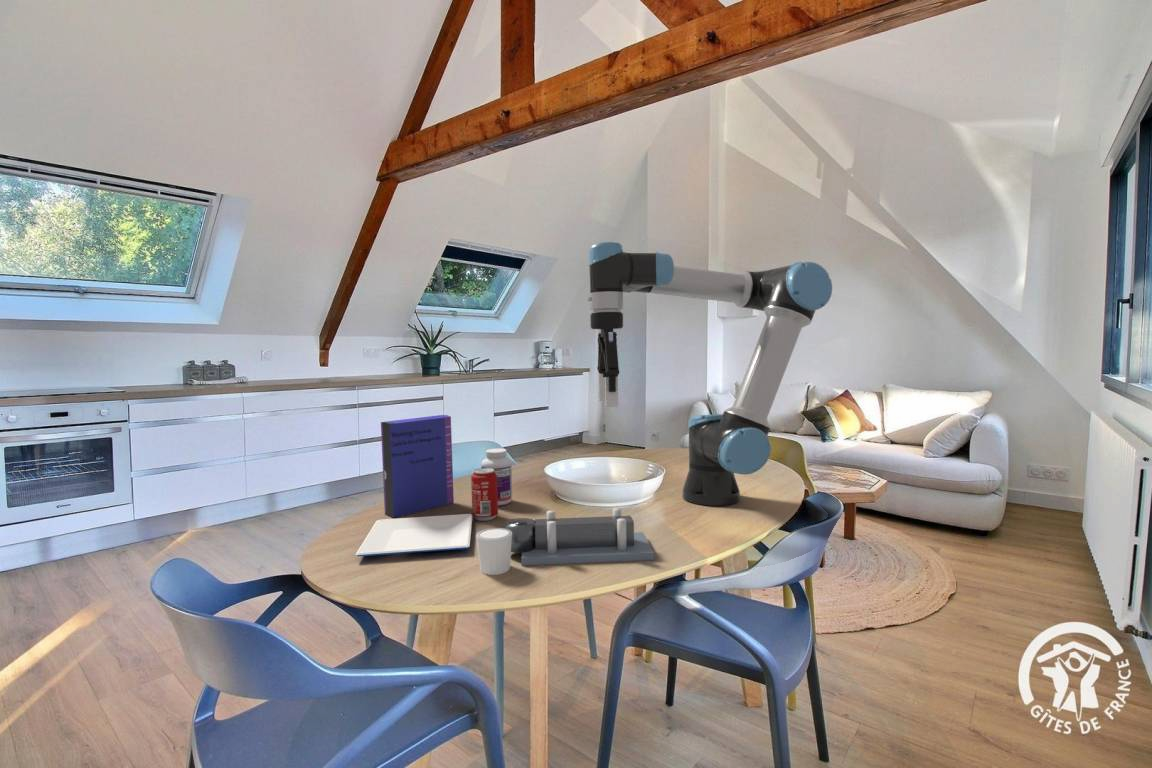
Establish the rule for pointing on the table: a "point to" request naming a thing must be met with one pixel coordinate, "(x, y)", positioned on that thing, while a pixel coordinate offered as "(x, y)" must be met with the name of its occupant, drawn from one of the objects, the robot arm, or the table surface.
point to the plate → (417, 535)
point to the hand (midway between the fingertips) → (608, 403)
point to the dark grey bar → (568, 532)
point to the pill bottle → (500, 473)
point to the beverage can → (484, 494)
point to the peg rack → (590, 555)
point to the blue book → (417, 464)
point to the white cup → (494, 550)
